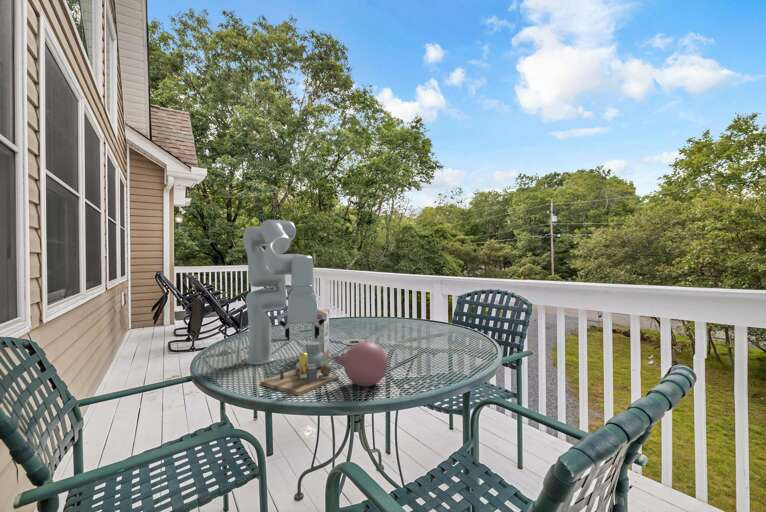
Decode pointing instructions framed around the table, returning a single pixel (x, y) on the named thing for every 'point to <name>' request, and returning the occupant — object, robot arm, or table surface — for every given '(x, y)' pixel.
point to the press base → (299, 380)
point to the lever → (302, 365)
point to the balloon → (363, 363)
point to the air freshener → (315, 354)
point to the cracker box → (322, 333)
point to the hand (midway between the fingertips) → (302, 338)
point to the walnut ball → (325, 369)
